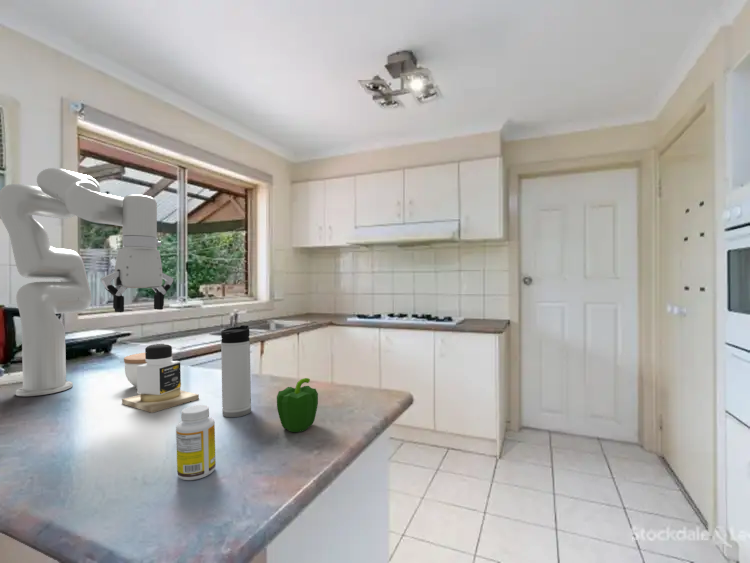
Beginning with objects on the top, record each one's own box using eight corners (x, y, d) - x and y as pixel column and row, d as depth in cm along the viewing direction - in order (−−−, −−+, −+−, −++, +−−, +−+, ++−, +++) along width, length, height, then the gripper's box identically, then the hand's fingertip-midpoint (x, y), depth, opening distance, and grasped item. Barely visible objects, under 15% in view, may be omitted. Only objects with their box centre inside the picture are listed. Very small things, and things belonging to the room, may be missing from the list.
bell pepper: (275, 438, 74) (275, 386, 74) (278, 422, 82) (277, 376, 82) (319, 433, 76) (318, 383, 76) (317, 419, 84) (316, 373, 84)
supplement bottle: (205, 461, 65) (204, 401, 65) (222, 471, 61) (220, 407, 61) (170, 474, 61) (169, 409, 61) (186, 486, 57) (185, 417, 57)
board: (122, 403, 98) (122, 393, 98) (168, 391, 108) (168, 382, 108) (151, 412, 90) (151, 401, 90) (198, 399, 100) (198, 388, 100)
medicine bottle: (160, 395, 95) (159, 347, 95) (136, 394, 96) (135, 346, 96) (181, 387, 102) (180, 342, 102) (158, 386, 103) (158, 342, 103)
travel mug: (257, 410, 91) (256, 325, 91) (237, 419, 85) (235, 329, 85) (237, 406, 94) (236, 324, 94) (216, 415, 88) (214, 328, 88)
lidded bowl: (145, 379, 122) (145, 345, 122) (182, 380, 120) (181, 345, 120) (113, 391, 110) (112, 352, 110) (153, 392, 108) (152, 352, 108)
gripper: (164, 247, 108) (164, 307, 108) (94, 241, 93) (94, 312, 93) (180, 246, 104) (180, 309, 104) (109, 240, 89) (109, 314, 90)
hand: (139, 310), depth 99 cm, fingers open, 9 cm apart
